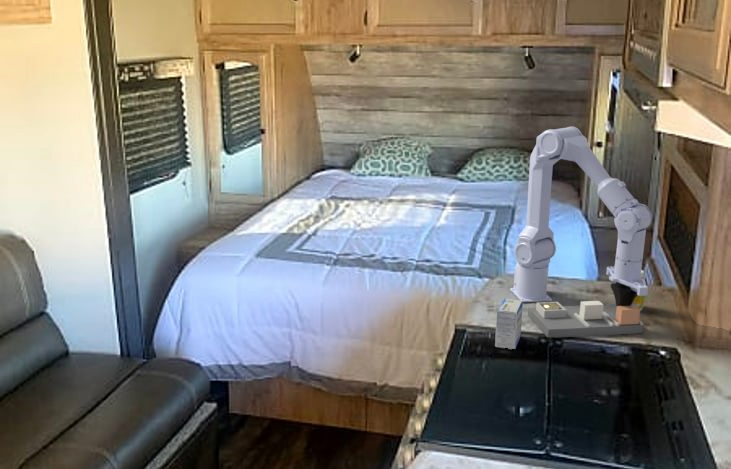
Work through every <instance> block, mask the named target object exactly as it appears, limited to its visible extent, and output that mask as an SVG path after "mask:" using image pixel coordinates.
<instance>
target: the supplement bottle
mask: <svg viewBox="0 0 731 469" xmlns="http://www.w3.org/2000/svg"><path fill="white" fill-rule="evenodd" d="M644 271H645V270H643V269H641V276H640V277H641V279H642V280H643V282H644V284H645V285H646V286H647V284H646V280H645V279H644V276H645V272H644ZM644 301H645V296H639V295H637V296H636V297H635V299H634V301H633V302H632V305H635V306H636V307H638V308H639V309H640V311H642V310H643V308H644V303H645V302H644ZM632 305H631V306H632Z"/></svg>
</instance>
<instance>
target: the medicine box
mask: <svg viewBox="0 0 731 469" xmlns="http://www.w3.org/2000/svg"><path fill="white" fill-rule="evenodd" d="M523 303H524V302H523V301H520V300H519V299H512V298H504V299H503V300H502V302H501V304H500V305H499V308H498V309H497V311H496V319H495V320H496V322H495V336H494V338H495V343H494V346H495V347H496V348H500V349H505V348H508V349H507V350H512V349H515V350H516V348H517V346H518V343H519V341H520V339H521V336H522V334H521V333H522V322H523V321H522V320H523V309H524V308H523V306H524V304H523Z"/></svg>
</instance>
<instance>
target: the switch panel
mask: <svg viewBox="0 0 731 469" xmlns="http://www.w3.org/2000/svg"><path fill="white" fill-rule="evenodd" d="M547 302H548V301H542V302H535V303H536V304H535V305H536V306H535V307H528V308H527V317H528V318H529V319H530V320H531V321H532V322H533V323H534V325H536V327H537V328H538V329H539V330H540V331H541V332H542V333H543V334H544V335H545V336H546V337H547V338H548V337H549V338H548V339H552V338H553V337H554V338H568V337H569V338H570V337H571V338H572V337H588V336H592V337H593V336H611V335H633V334H643V331H644V330H643V329H644V322H643V321H641V320H640V319H639V324H626V325H620V324H619V323H618V322H616V321H615V318H616V309H617V306H616V303H609V304H608V303H606V304H603V315H602V319H589V320H584V319H583V318H581V317H580V316H579V314H580V305H562V304H561V303H560V302H559V301H550V302H551V303H556V304H558V305H559V310H545V309H544V308H543V304H544V303H547ZM554 338H553V339H554Z"/></svg>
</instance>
